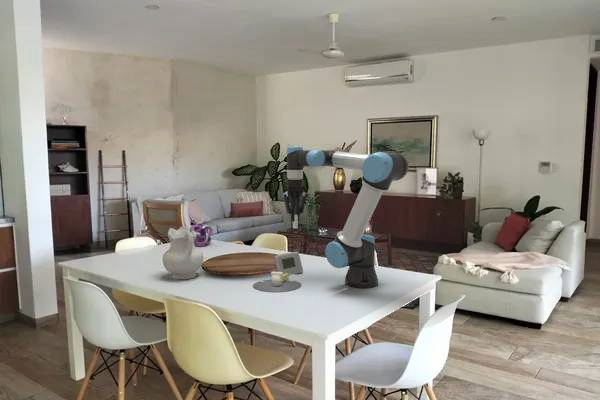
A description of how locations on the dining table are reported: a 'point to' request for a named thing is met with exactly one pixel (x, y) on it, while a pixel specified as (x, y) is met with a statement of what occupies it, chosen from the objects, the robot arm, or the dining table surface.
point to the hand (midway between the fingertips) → (295, 228)
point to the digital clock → (288, 263)
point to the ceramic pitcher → (182, 254)
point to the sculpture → (202, 234)
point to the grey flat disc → (285, 287)
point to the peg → (279, 278)
